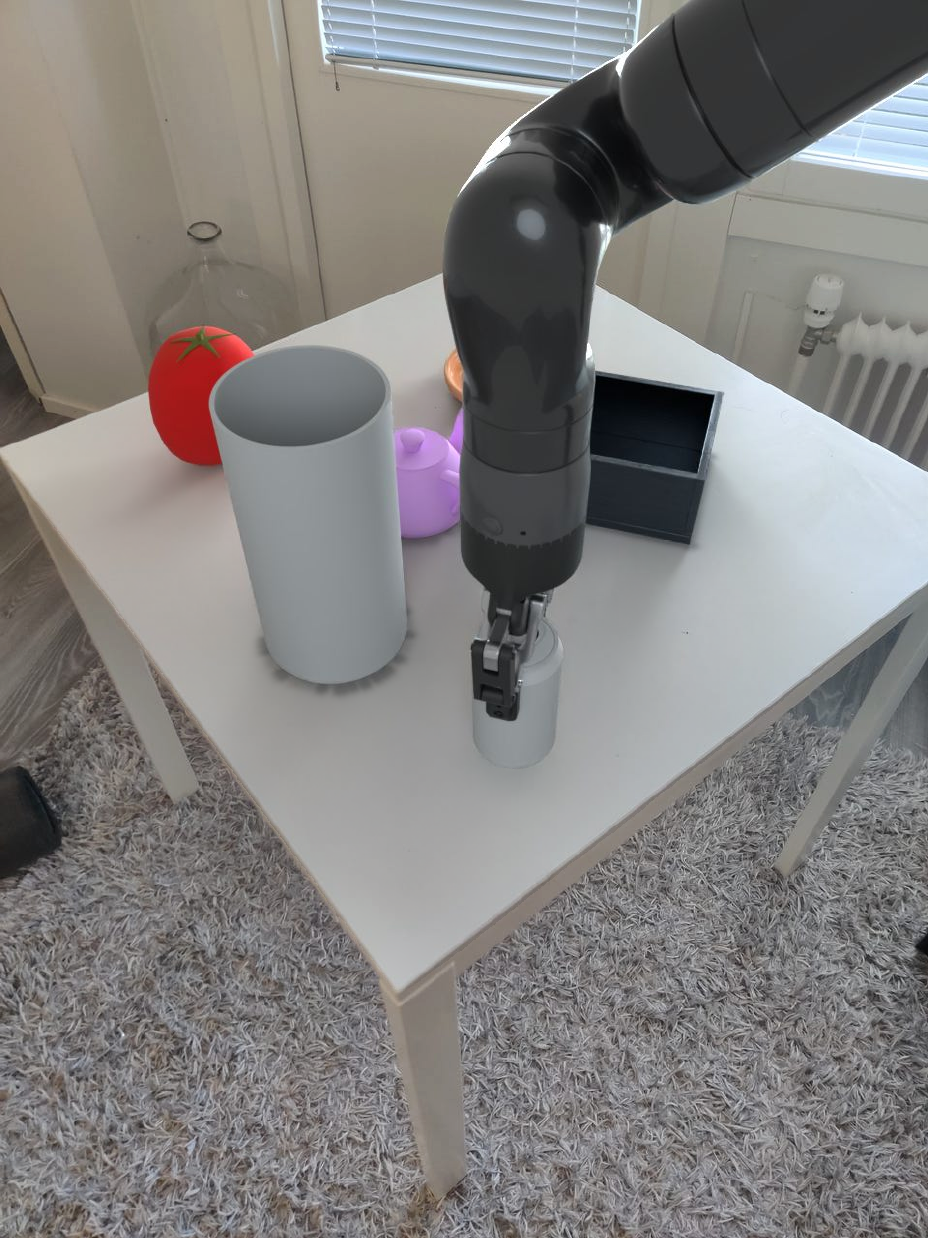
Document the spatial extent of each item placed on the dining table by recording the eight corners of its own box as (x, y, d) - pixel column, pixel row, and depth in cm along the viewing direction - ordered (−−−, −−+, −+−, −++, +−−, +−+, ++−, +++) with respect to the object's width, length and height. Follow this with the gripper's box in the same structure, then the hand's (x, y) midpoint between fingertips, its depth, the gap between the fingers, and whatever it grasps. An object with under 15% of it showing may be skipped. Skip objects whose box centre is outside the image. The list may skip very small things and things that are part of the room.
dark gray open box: (709, 455, 101) (724, 391, 95) (689, 545, 91) (705, 480, 86) (575, 431, 104) (582, 367, 98) (543, 515, 94) (548, 451, 88)
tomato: (204, 500, 96) (171, 380, 86) (143, 451, 101) (105, 333, 91) (301, 446, 102) (282, 328, 92) (239, 403, 108) (214, 286, 97)
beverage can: (566, 722, 74) (577, 619, 65) (536, 786, 70) (543, 685, 62) (492, 696, 76) (493, 592, 67) (458, 757, 72) (455, 655, 63)
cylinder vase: (370, 706, 78) (340, 467, 60) (239, 663, 82) (172, 424, 63) (429, 604, 86) (419, 365, 68) (308, 569, 89) (266, 331, 71)
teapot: (477, 467, 100) (478, 396, 93) (472, 558, 90) (472, 486, 84) (365, 463, 100) (358, 392, 93) (348, 554, 91) (339, 483, 84)
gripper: (557, 595, 50) (542, 771, 62) (610, 437, 59) (588, 617, 71) (423, 567, 52) (434, 744, 64) (495, 417, 61) (493, 597, 73)
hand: (515, 676), depth 68 cm, fingers closed on beverage can, 6 cm apart
